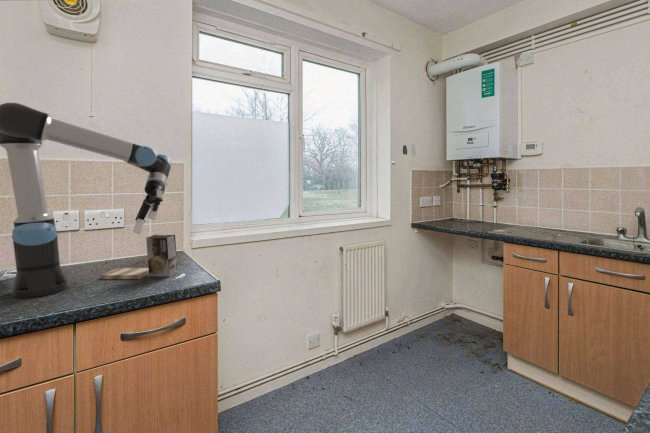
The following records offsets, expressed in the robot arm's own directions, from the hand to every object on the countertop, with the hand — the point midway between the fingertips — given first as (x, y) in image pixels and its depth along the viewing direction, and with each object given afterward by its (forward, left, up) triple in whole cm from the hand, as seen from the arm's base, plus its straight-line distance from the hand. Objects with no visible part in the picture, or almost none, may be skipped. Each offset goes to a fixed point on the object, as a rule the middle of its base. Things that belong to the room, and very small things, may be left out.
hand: (143, 225), depth 134 cm
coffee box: (+5, -3, -21) cm, 21 cm away
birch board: (-6, +6, -20) cm, 22 cm away
